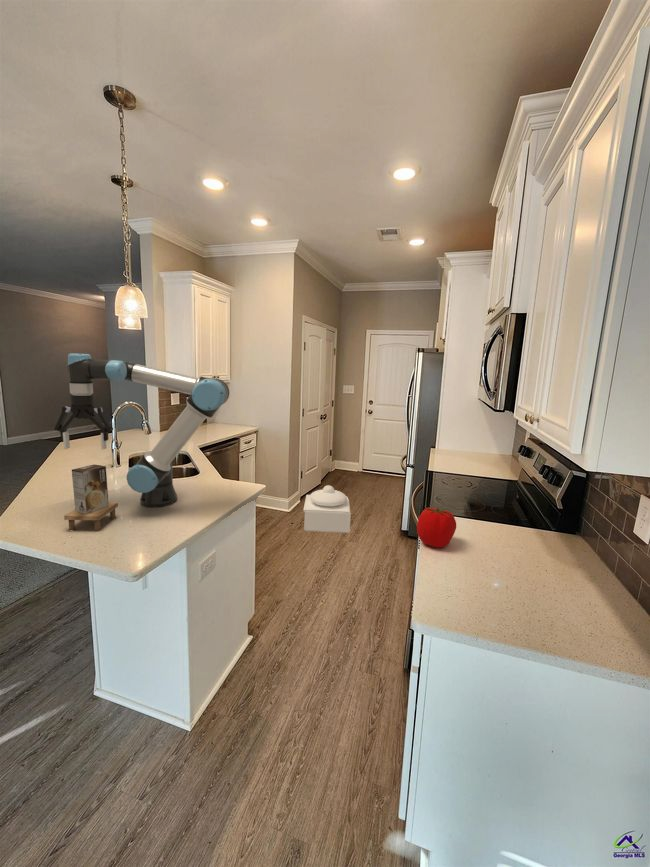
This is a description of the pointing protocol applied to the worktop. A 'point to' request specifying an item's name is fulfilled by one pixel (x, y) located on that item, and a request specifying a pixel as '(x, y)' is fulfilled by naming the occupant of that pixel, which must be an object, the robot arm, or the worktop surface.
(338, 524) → the white lidded dish
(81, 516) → the stool
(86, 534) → the worktop surface
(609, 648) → the worktop surface
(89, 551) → the worktop surface
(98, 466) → the coffee box
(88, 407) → the robot arm
